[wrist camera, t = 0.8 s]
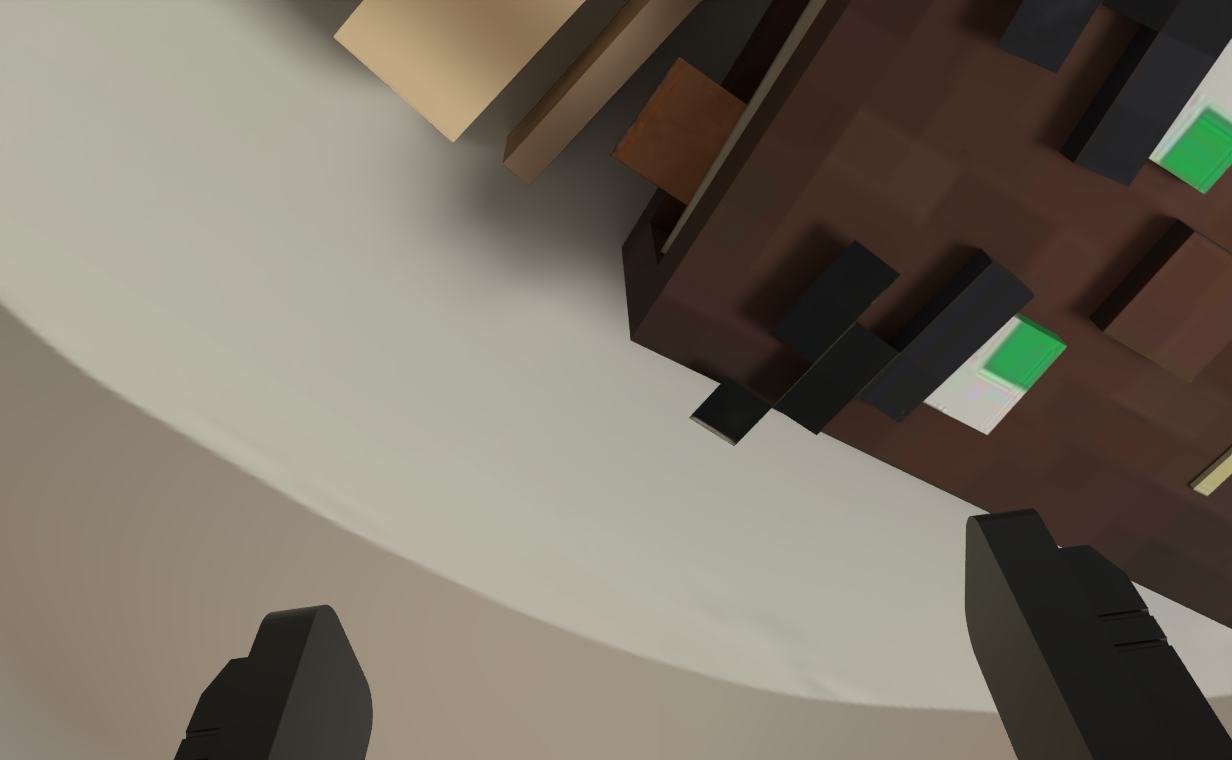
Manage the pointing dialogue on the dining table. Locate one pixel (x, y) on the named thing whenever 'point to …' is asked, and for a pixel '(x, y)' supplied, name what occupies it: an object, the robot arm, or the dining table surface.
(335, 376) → the dining table surface
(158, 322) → the dining table surface
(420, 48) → the block
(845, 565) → the dining table surface
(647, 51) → the shelf bay
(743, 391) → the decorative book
